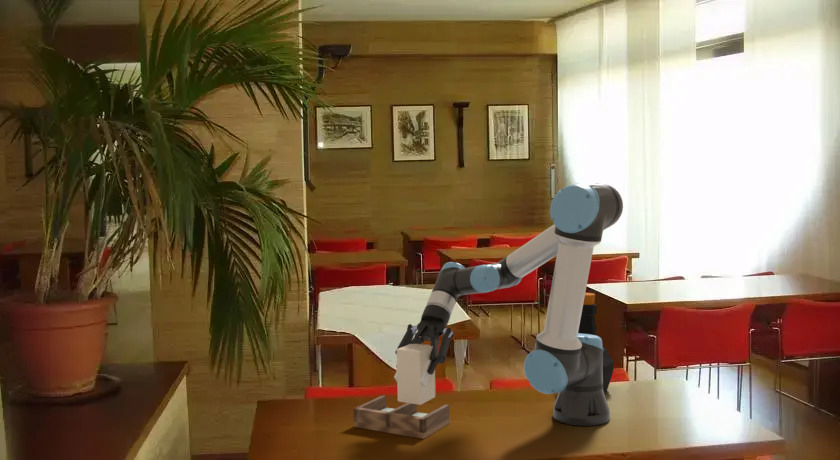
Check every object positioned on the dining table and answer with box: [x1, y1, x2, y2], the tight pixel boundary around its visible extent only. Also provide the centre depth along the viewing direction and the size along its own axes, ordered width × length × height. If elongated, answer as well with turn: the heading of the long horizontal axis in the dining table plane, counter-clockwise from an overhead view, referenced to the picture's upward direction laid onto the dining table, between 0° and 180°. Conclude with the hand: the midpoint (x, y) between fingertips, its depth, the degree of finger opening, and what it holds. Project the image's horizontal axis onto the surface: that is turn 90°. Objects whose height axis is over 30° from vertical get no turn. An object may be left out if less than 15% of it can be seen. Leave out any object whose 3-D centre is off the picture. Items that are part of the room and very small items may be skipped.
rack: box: [353, 395, 451, 440], centre depth 201 cm, size 22×14×5 cm, turn 60°
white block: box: [396, 343, 436, 406], centre depth 199 cm, size 7×8×14 cm
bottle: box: [578, 292, 615, 393], centre depth 231 cm, size 16×16×30 cm
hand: (409, 381), depth 196 cm, fingers closed on white block, 7 cm apart
